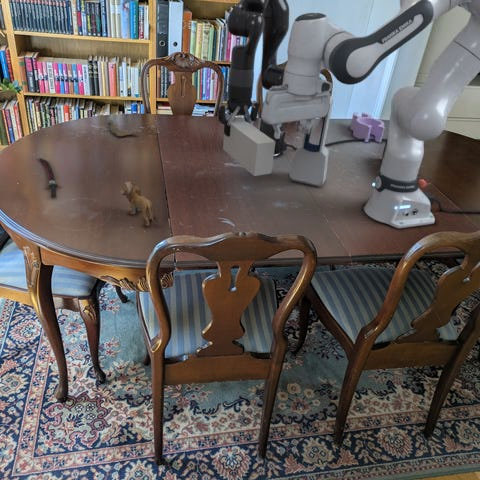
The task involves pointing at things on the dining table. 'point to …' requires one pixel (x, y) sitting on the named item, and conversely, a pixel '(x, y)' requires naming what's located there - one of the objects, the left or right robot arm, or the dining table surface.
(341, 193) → the dining table surface
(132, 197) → the lion figurine
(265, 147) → the box
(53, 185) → the sword
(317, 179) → the electronic device
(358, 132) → the clip
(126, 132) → the jawbone
